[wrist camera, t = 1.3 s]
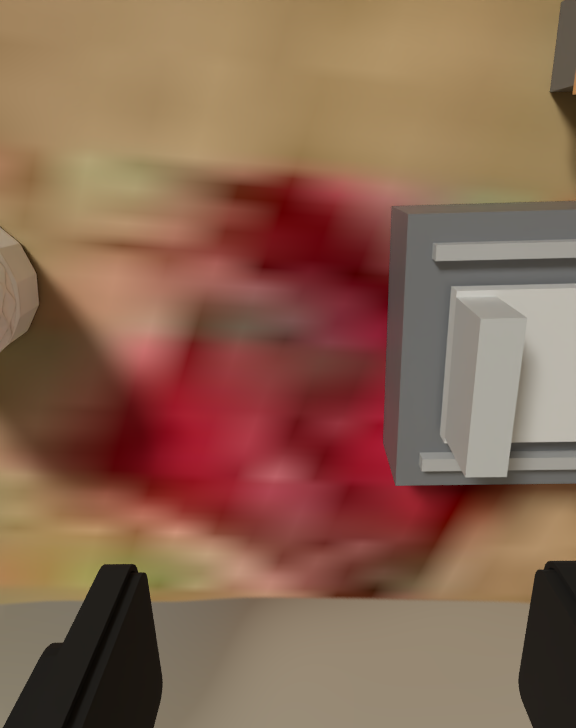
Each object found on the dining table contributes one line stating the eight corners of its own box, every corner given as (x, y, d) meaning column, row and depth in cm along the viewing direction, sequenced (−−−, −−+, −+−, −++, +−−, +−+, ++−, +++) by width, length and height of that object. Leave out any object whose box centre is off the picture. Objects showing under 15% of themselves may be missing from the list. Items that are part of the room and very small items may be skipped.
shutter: (451, 286, 21) (481, 311, 18) (620, 282, 21) (686, 307, 17) (439, 434, 23) (464, 483, 20) (592, 432, 23) (645, 481, 20)
